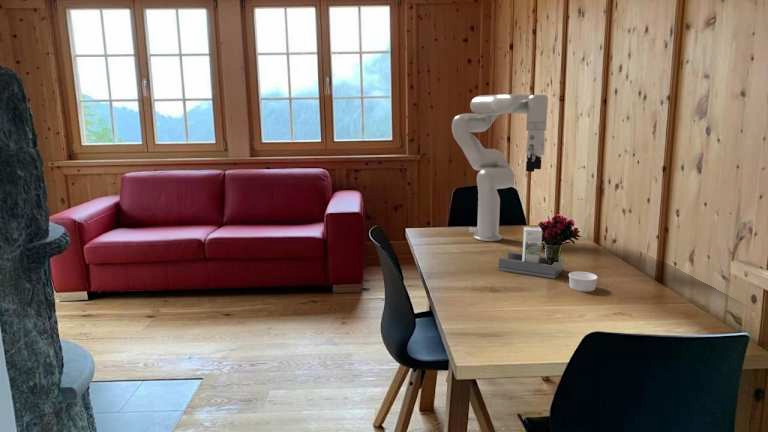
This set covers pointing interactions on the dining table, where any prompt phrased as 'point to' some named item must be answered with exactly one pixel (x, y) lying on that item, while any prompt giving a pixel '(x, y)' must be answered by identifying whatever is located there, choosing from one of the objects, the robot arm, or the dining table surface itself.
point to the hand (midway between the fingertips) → (533, 170)
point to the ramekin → (582, 281)
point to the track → (530, 266)
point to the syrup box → (532, 244)
